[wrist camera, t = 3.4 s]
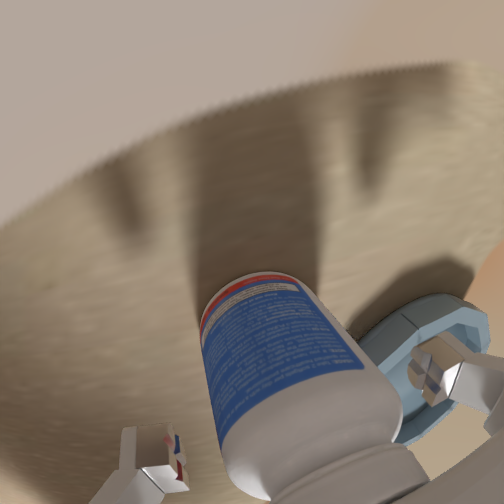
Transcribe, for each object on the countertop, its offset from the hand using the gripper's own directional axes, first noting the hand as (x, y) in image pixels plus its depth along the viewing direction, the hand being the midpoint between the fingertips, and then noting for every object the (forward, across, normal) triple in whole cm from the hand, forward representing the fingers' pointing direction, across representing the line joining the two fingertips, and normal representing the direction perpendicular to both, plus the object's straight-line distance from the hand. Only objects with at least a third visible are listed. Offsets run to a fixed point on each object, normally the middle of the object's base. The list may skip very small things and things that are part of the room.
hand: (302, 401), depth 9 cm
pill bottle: (+5, 0, 0) cm, 5 cm away
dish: (+5, +9, -8) cm, 13 cm away
